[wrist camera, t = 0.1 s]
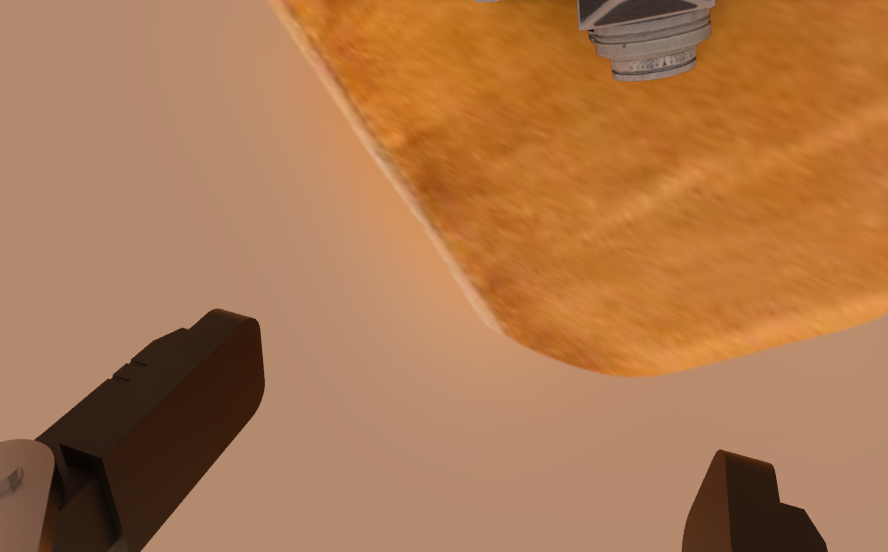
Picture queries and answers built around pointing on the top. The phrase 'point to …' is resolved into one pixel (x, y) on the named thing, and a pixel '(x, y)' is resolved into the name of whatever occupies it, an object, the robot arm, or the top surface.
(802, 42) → the top surface
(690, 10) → the camera
